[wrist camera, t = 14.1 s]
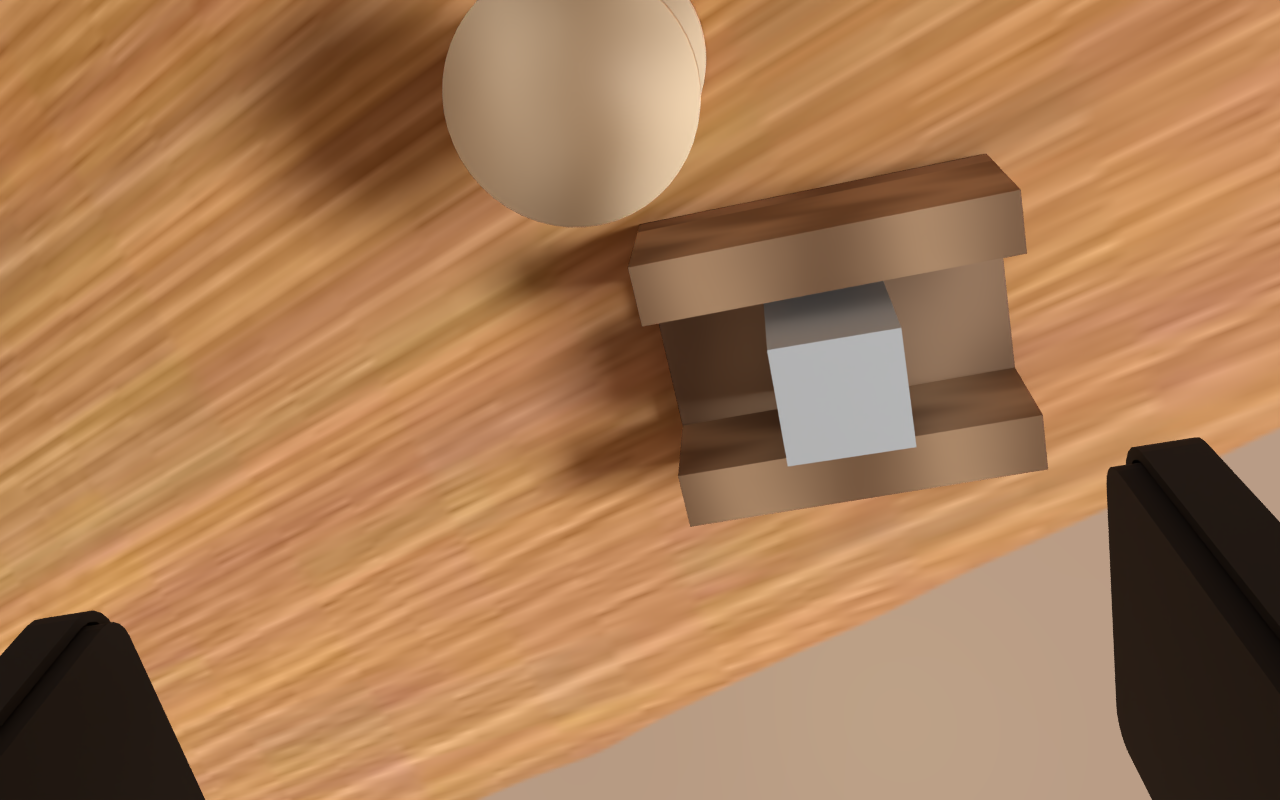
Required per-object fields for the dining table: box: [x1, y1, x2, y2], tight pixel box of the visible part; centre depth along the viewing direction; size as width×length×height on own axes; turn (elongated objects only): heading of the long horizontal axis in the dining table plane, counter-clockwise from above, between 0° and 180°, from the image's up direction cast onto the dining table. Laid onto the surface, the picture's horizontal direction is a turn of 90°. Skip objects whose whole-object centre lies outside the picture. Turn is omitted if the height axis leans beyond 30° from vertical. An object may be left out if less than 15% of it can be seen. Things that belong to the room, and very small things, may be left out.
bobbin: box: [442, 0, 706, 227], centre depth 35 cm, size 7×7×8 cm
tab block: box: [764, 281, 916, 466], centre depth 38 cm, size 4×4×6 cm
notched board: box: [628, 154, 1048, 527], centre depth 39 cm, size 12×10×5 cm
